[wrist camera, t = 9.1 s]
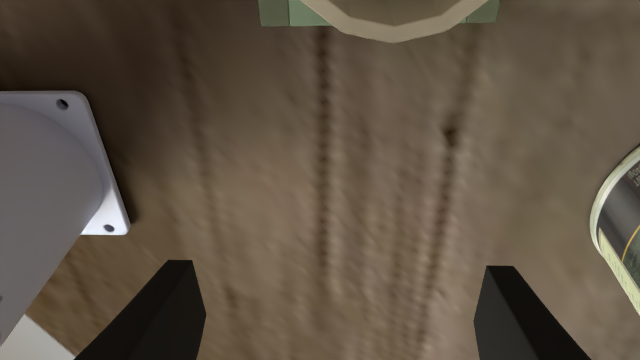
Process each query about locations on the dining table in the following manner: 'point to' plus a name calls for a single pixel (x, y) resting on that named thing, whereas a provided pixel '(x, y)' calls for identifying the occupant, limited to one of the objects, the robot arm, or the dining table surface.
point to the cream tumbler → (393, 16)
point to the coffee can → (620, 224)
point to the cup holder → (287, 10)
